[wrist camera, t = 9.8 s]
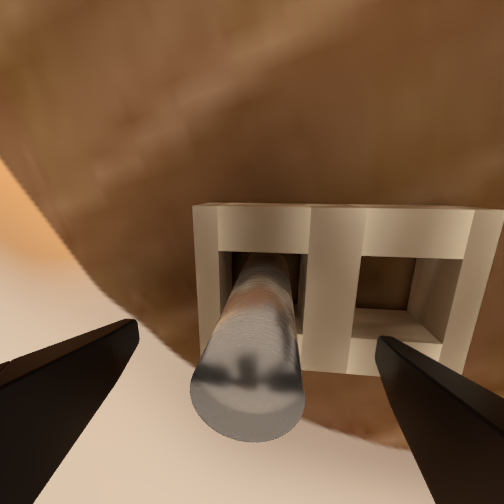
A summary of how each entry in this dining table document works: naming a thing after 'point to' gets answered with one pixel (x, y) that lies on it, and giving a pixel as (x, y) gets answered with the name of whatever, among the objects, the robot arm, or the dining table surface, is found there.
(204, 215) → the pin block
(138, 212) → the dining table surface
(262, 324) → the metal pin
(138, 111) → the dining table surface
